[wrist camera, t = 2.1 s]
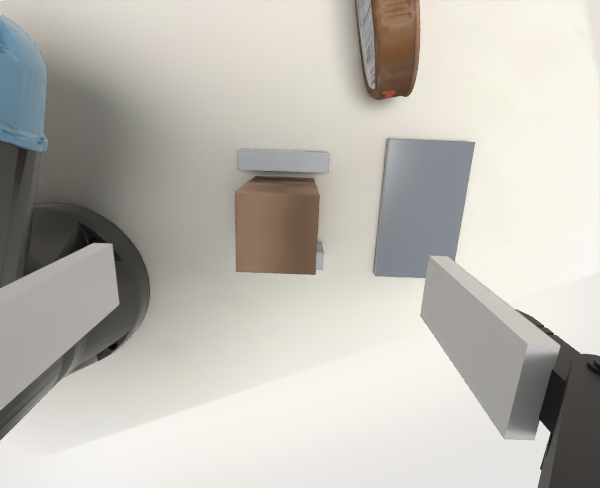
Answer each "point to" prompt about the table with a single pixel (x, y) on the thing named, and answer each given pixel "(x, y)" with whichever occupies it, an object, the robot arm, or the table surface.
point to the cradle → (286, 169)
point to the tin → (389, 45)
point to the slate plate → (421, 204)
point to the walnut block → (277, 225)
